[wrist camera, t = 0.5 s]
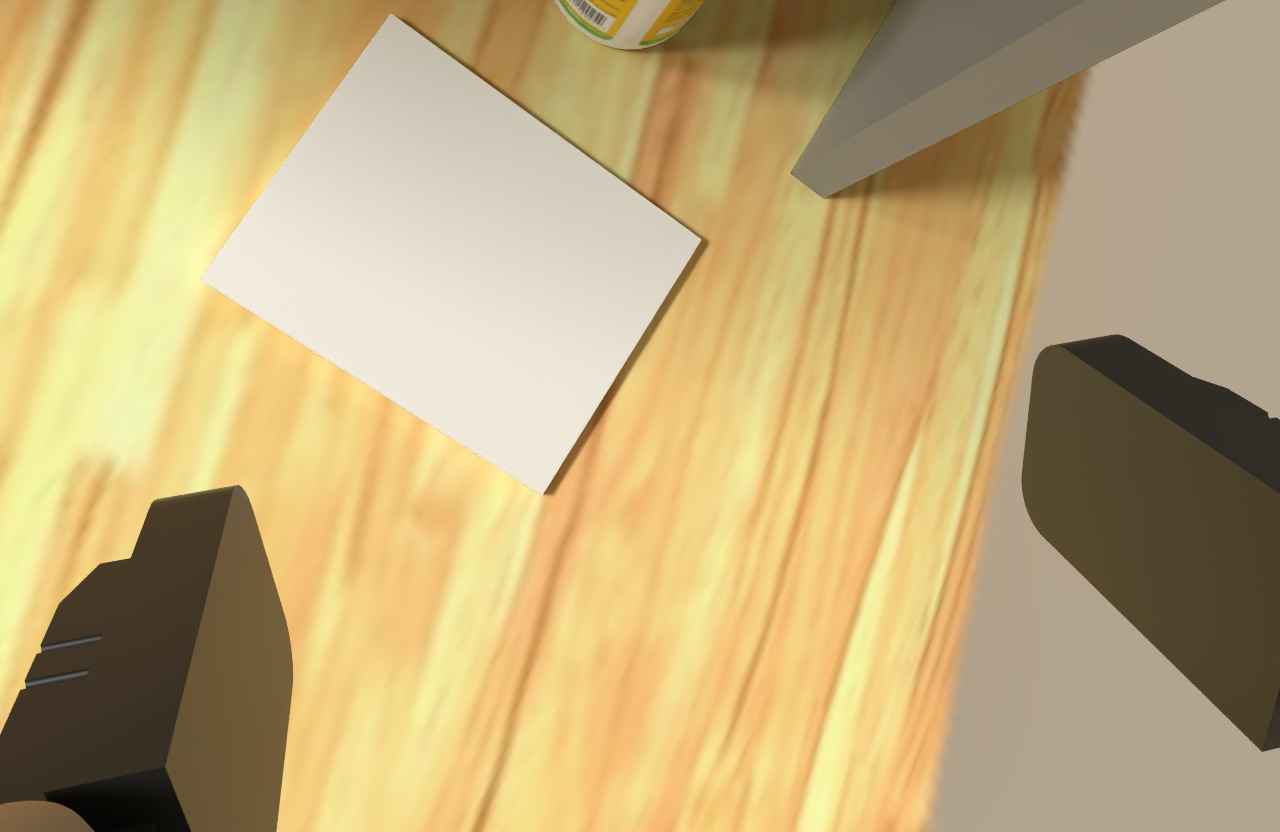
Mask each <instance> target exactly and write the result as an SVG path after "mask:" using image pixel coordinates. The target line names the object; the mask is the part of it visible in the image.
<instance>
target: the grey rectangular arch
mask: <svg viewBox="0 0 1280 832" xmlns="http://www.w3.org/2000/svg"><path fill="white" fill-rule="evenodd" d="M1223 1H1224V0H896V2H895V4H894V5H893V7H892V9H891V10H890V12H889V13H888V15H887V17H886V18H885V20H884V22H883V23H882V25H881V27H880V28H879V30H878V31H877V33H876V35H875V36H874V38H873V40H872V41H871V43H870V44H869V46H868V48H867V49H866V51H865V53H864V54H863V56H862V58H861V59H860V61H859V62H858V64H857V66H856V67H855V69H854V71H853V72H852V74H851V75H850V77H849V79H848V80H847V82H846V84H845V85H844V87H843V89H842V90H841V92H840V93H839V95H838V97H837V98H836V100H835V102H834V103H833V105H832V106H831V108H830V110H829V111H828V113H827V115H826V116H825V118H824V119H823V121H822V123H821V124H820V126H819V128H818V129H817V131H816V133H815V134H814V136H813V137H812V139H811V141H810V142H809V144H808V146H807V147H806V149H805V150H804V152H803V154H802V155H801V157H800V159H799V160H798V162H797V164H796V165H795V167H794V168H793V170H792V172H791V174H792V175H794V176H795V177H796V178H798V179H799V180H800V181H802V182H803V183H804V184H806V185H807V186H808V187H809V188H811V189H812V190H813V191H815V192H816V193H817V194H819V195H820V196H821V197H823V198H826V197H828V196H830V195H832V194H834V193H836V192H838V191H840V190H842V189H844V188H846V187H848V186H850V185H852V184H854V183H856V182H858V181H860V180H863V179H865V178H867V177H869V176H871V175H873V174H875V173H877V172H879V171H881V170H883V169H885V168H887V167H889V166H891V165H893V164H895V163H897V162H899V161H901V160H903V159H905V158H907V157H909V156H911V155H913V154H915V153H917V152H919V151H921V150H923V149H925V148H927V147H929V146H931V145H933V144H935V143H937V142H939V141H941V140H943V139H945V138H947V137H949V136H952V135H954V134H956V133H958V132H960V131H962V130H964V129H966V128H968V127H970V126H972V125H974V124H976V123H978V122H980V121H982V120H984V119H986V118H988V117H990V116H992V115H994V114H996V113H998V112H1000V111H1002V110H1004V109H1006V108H1008V107H1010V106H1012V105H1014V104H1016V103H1018V102H1020V101H1022V100H1024V99H1026V98H1028V97H1030V96H1032V95H1034V94H1036V93H1038V92H1040V91H1043V90H1045V89H1047V88H1049V87H1051V86H1053V85H1055V84H1057V83H1059V82H1061V81H1063V80H1065V79H1067V78H1069V77H1071V76H1073V75H1075V74H1077V73H1079V72H1081V71H1083V70H1085V69H1087V68H1089V67H1091V66H1093V65H1095V64H1097V63H1099V62H1101V61H1103V60H1105V59H1107V58H1109V57H1111V56H1113V55H1115V54H1117V53H1119V52H1121V51H1123V50H1125V49H1127V48H1129V47H1131V46H1134V45H1136V44H1138V43H1139V42H1142V41H1143V40H1146V39H1148V38H1150V37H1152V36H1154V35H1156V34H1158V33H1160V32H1162V31H1164V30H1166V29H1168V28H1170V27H1172V26H1174V25H1176V24H1178V23H1180V22H1182V21H1184V20H1186V19H1188V18H1190V17H1192V16H1194V15H1196V14H1198V13H1200V12H1202V11H1204V10H1206V9H1208V8H1210V7H1212V6H1214V5H1216V4H1218V3H1220V2H1223Z"/></svg>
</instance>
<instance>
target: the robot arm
mask: <svg viewBox="0 0 1280 832" xmlns="http://www.w3.org/2000/svg"><path fill="white" fill-rule="evenodd" d="M1022 491H1023V497H1024V502H1025V505H1026V508H1027V511H1028V514H1029V516H1030V518H1031V520H1032V522H1033V524H1034V526H1035V527H1036V529H1037V530H1038V531H1039V533H1040V534H1041V535H1042V536H1043V537H1044V538H1045V539H1046V540H1047V541H1048V542H1049V543H1050V544H1051V545H1052V546H1053V547H1054V548H1055V549H1056V550H1057V551H1058V552H1059V553H1060V554H1061V555H1062V556H1063V557H1064V558H1065V559H1066V560H1067V561H1068V562H1069V563H1070V564H1072V565H1073V566H1074V567H1075V568H1076V569H1077V570H1078V571H1079V572H1080V573H1081V574H1082V575H1083V576H1084V577H1085V578H1086V579H1087V580H1088V581H1089V582H1090V583H1091V584H1092V585H1093V586H1094V587H1095V588H1096V589H1097V590H1098V591H1099V592H1100V593H1101V594H1102V595H1103V596H1104V597H1105V598H1106V599H1107V600H1108V601H1109V602H1110V603H1111V604H1112V605H1113V606H1114V607H1115V608H1116V609H1117V610H1118V611H1119V612H1121V614H1122V615H1123V616H1125V617H1126V619H1128V620H1129V621H1130V622H1131V623H1132V624H1133V625H1134V626H1135V627H1136V628H1137V629H1138V630H1139V631H1140V632H1141V633H1142V634H1143V635H1144V636H1145V637H1146V638H1147V639H1148V640H1149V641H1150V642H1151V643H1152V644H1153V645H1154V646H1155V647H1156V648H1157V649H1158V650H1159V651H1160V652H1161V653H1162V654H1163V655H1164V656H1165V657H1166V658H1167V659H1168V660H1169V661H1170V662H1171V663H1172V664H1173V665H1175V667H1176V668H1177V669H1178V670H1180V672H1181V673H1183V674H1184V675H1185V676H1186V677H1187V678H1188V679H1189V680H1190V681H1191V682H1192V683H1193V684H1194V685H1195V686H1196V687H1197V688H1198V689H1199V690H1200V691H1201V692H1202V693H1203V694H1204V695H1205V696H1206V697H1207V698H1208V699H1209V700H1210V701H1211V702H1212V703H1213V704H1214V705H1215V706H1216V707H1217V708H1218V709H1219V710H1220V711H1221V712H1222V713H1223V714H1224V715H1225V716H1226V717H1227V718H1228V719H1229V720H1230V721H1231V722H1232V723H1233V724H1234V725H1235V726H1237V728H1239V729H1240V730H1241V731H1242V732H1243V733H1244V734H1245V735H1246V736H1247V737H1248V738H1249V739H1250V740H1251V741H1252V742H1253V743H1254V744H1255V745H1256V746H1257V747H1258V748H1259V749H1260V750H1261V751H1262V752H1263V751H1267V750H1271V749H1275V748H1279V747H1280V420H1279V419H1278V418H1271V419H1269V417H1268V412H1266V411H1264V410H1263V409H1261V408H1259V407H1258V406H1256V405H1254V404H1253V403H1251V402H1249V401H1248V400H1246V399H1244V398H1243V397H1241V396H1239V395H1238V394H1236V393H1234V392H1232V391H1230V390H1229V389H1227V388H1224V387H1221V386H1218V385H1216V384H1212V383H1210V382H1207V381H1204V380H1201V379H1198V378H1195V377H1192V376H1190V375H1189V374H1187V373H1185V372H1183V371H1182V370H1180V369H1179V368H1177V367H1175V366H1174V365H1172V364H1170V363H1169V362H1167V361H1165V360H1163V359H1162V358H1160V357H1159V356H1157V355H1155V354H1154V353H1152V352H1150V351H1149V350H1147V349H1146V348H1144V347H1142V346H1140V345H1139V344H1137V343H1136V342H1133V341H1132V340H1131V339H1129V338H1127V337H1125V336H1122V335H1109V336H1103V337H1097V338H1092V339H1086V340H1081V341H1074V342H1069V343H1063V344H1058V345H1051V346H1049V347H1046V348H1045V349H1043V350H1042V351H1041V353H1040V354H1039V355H1038V357H1037V359H1036V362H1035V365H1034V370H1033V376H1032V385H1031V395H1030V404H1029V414H1028V422H1027V432H1026V441H1025V450H1024V460H1023V469H1022ZM41 649H42V652H41V653H38V654H36V657H35V659H34V661H33V663H32V665H31V668H30V670H29V672H28V674H27V677H26V679H25V684H26V689H23V690H20V692H19V694H18V697H17V699H16V701H15V703H14V705H13V708H12V710H11V712H10V714H9V717H8V719H7V721H6V723H5V725H4V728H3V730H2V732H1V734H0V832H276V830H277V821H278V812H279V803H280V794H281V785H282V776H283V768H284V759H285V750H286V741H287V732H288V723H289V714H290V705H291V696H292V686H293V662H292V651H291V644H290V637H289V632H288V627H287V623H286V619H285V615H284V612H283V609H282V605H281V602H280V599H279V595H278V592H277V589H276V585H275V582H274V579H273V575H272V572H271V569H270V565H269V562H268V559H267V555H266V552H265V549H264V545H263V542H262V539H261V535H260V532H259V529H258V525H257V522H256V519H255V515H254V512H253V509H252V506H251V503H250V501H249V498H248V496H247V494H246V492H245V491H244V489H243V488H242V487H241V486H239V485H236V486H230V487H225V488H219V489H213V490H207V491H202V492H196V493H190V494H184V495H179V496H173V497H167V498H161V499H157V500H154V501H153V502H152V504H151V506H150V508H149V511H148V513H147V516H146V519H145V521H144V524H143V527H142V529H141V532H140V535H139V537H138V540H137V543H136V546H135V548H134V551H133V554H132V556H131V558H129V559H124V560H118V561H113V562H107V563H102V564H99V565H98V566H97V567H96V568H95V569H94V570H93V571H92V572H91V573H90V574H89V575H88V576H87V577H86V578H85V579H84V580H83V581H82V582H81V583H80V584H79V585H78V586H77V587H76V588H75V589H74V590H73V591H72V592H71V593H70V594H69V595H68V596H67V597H66V598H65V599H63V600H62V601H61V602H60V603H59V605H58V608H57V610H56V612H55V614H54V616H53V619H52V621H51V623H50V625H49V628H48V630H47V632H46V634H45V637H44V639H43V641H42V643H41Z"/></svg>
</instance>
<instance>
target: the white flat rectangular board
mask: <svg viewBox="0 0 1280 832" xmlns="http://www.w3.org/2000/svg"><path fill="white" fill-rule="evenodd" d="M701 240H702V239H700V238H699V237H698V236H696V235H695V234H694V233H692V232H691V231H689V230H688V229H687V228H685V227H684V226H683V225H681V224H680V223H678V222H677V221H676V220H674V219H673V218H672V217H670V216H669V215H667V214H666V213H665V212H663V211H662V210H661V209H659V208H658V207H656V206H655V205H654V204H652V203H651V202H650V201H648V200H647V199H645V198H644V197H643V196H641V195H640V194H639V193H637V192H636V191H634V190H633V189H632V188H630V187H629V186H628V185H626V184H625V183H623V182H622V181H621V180H619V179H618V178H617V177H615V176H614V175H612V174H611V173H610V172H608V171H607V170H606V169H604V168H603V167H602V166H600V165H599V164H597V163H596V162H595V161H593V160H592V159H591V158H589V157H588V156H586V155H585V154H584V153H582V152H581V151H580V150H578V149H577V148H575V147H574V146H573V145H571V144H570V143H569V142H567V141H566V140H564V139H563V138H562V137H560V136H559V135H558V134H556V133H555V132H553V131H552V130H551V129H549V128H548V127H547V126H545V125H544V124H542V123H541V122H540V121H538V120H537V119H536V118H534V117H533V116H531V115H530V114H529V113H527V112H526V111H525V110H523V109H522V108H520V107H519V106H518V105H516V104H515V103H514V102H512V101H511V100H509V99H508V98H507V97H505V96H504V95H503V94H501V93H500V92H498V91H497V90H496V89H494V88H493V87H492V86H490V85H489V84H488V83H486V82H485V81H483V80H482V79H481V78H479V77H478V76H477V75H475V74H474V73H472V72H471V71H470V70H468V69H467V68H466V67H464V66H463V65H461V64H460V63H459V62H457V61H456V60H455V59H453V58H452V57H450V56H449V55H448V54H446V53H445V52H444V51H442V50H441V49H439V48H438V47H437V46H435V45H434V44H433V43H431V42H430V41H428V40H427V39H426V38H424V37H423V36H422V35H420V34H419V33H417V32H416V31H415V30H413V29H412V28H411V27H409V26H408V25H406V24H405V23H404V22H402V21H401V20H400V19H398V18H397V17H395V16H394V15H393V14H390V15H389V16H388V18H387V19H386V21H385V22H384V23H383V25H382V26H381V28H380V29H379V30H378V32H377V33H376V35H375V36H374V37H373V39H372V40H371V41H370V43H369V44H368V46H367V47H366V48H365V50H364V51H363V53H362V54H361V55H360V57H359V58H358V60H357V61H356V62H355V64H354V65H353V67H352V68H351V69H350V71H349V72H348V74H347V75H346V76H345V78H344V79H343V80H342V82H341V83H340V85H339V86H338V87H337V89H336V90H335V92H334V93H333V94H332V96H331V97H330V99H329V100H328V101H327V103H326V104H325V106H324V107H323V108H322V110H321V111H320V113H319V114H318V115H317V117H316V118H315V119H314V121H313V122H312V124H311V125H310V126H309V128H308V129H307V131H306V132H305V133H304V135H303V136H302V138H301V139H300V140H299V142H298V143H297V145H296V146H295V147H294V149H293V150H292V152H291V153H290V154H289V156H288V157H287V159H286V160H285V161H284V163H283V164H282V165H281V167H280V168H279V170H278V171H277V172H276V174H275V175H274V177H273V178H272V179H271V181H270V182H269V184H268V185H267V186H266V188H265V189H264V191H263V192H262V193H261V195H260V196H259V198H258V199H257V200H256V202H255V203H254V204H253V206H252V207H251V209H250V210H249V211H248V213H247V214H246V216H245V217H244V218H243V220H242V221H241V223H240V224H239V225H238V227H237V228H236V230H235V231H234V232H233V234H232V235H231V237H230V238H229V239H228V241H227V242H226V243H225V245H224V246H223V248H222V249H221V250H220V252H219V253H218V255H217V256H216V257H215V259H214V260H213V262H212V263H211V264H210V266H209V267H208V269H207V270H206V271H205V273H204V274H203V276H202V277H201V278H200V280H201V281H202V282H204V283H206V284H207V285H209V286H210V287H212V288H213V289H215V290H217V291H218V292H220V293H221V294H223V295H225V296H226V297H228V298H229V299H231V300H232V301H234V302H236V303H237V304H239V305H240V306H242V307H244V308H245V309H247V310H248V311H250V312H251V313H253V314H255V315H256V316H258V317H259V318H261V319H263V320H264V321H266V322H267V323H269V324H270V325H272V326H274V327H275V328H277V329H278V330H280V331H282V332H283V333H285V334H286V335H288V336H289V337H291V338H293V339H294V340H296V341H297V342H299V343H301V344H302V345H304V346H305V347H307V348H308V349H310V350H312V351H313V352H315V353H316V354H318V355H320V356H321V357H323V358H324V359H326V360H327V361H329V362H331V363H332V364H334V365H335V366H337V367H339V368H340V369H342V370H343V371H345V372H346V373H348V374H350V375H351V376H353V377H354V378H356V379H358V380H359V381H361V382H362V383H364V384H365V385H367V386H369V387H370V388H372V389H373V390H375V391H377V392H378V393H380V394H381V395H383V396H384V397H386V398H388V399H389V400H391V401H392V402H394V403H395V404H397V405H399V406H400V407H402V408H403V409H405V410H407V411H408V412H410V413H411V414H413V415H414V416H416V417H418V418H419V419H421V420H422V421H424V422H426V423H427V424H429V425H430V426H432V427H433V428H435V429H437V430H438V431H440V432H441V433H443V434H445V435H446V436H448V437H449V438H451V439H452V440H454V441H456V442H457V443H459V444H460V445H462V446H464V447H465V448H467V449H468V450H470V451H471V452H473V453H475V454H476V455H478V456H479V457H481V458H483V459H484V460H486V461H487V462H489V463H490V464H492V465H494V466H495V467H497V468H498V469H500V470H502V471H503V472H505V473H506V474H508V475H509V476H511V477H513V478H514V479H516V480H517V481H519V482H521V483H522V484H524V485H525V486H527V487H528V488H530V489H532V490H533V491H535V492H536V493H538V494H540V495H543V494H544V492H545V490H546V489H547V487H548V485H549V484H550V482H551V481H552V479H553V477H554V476H555V474H556V473H557V471H558V469H559V468H560V466H561V465H562V463H563V461H564V460H565V458H566V457H567V455H568V453H569V452H570V450H571V449H572V447H573V445H574V444H575V442H576V441H577V439H578V437H579V436H580V434H581V432H582V431H583V429H584V428H585V426H586V424H587V423H588V421H589V420H590V418H591V416H592V415H593V413H594V412H595V410H596V408H597V407H598V405H599V404H600V402H601V400H602V399H603V397H604V396H605V394H606V392H607V391H608V389H609V388H610V386H611V384H612V383H613V381H614V380H615V378H616V376H617V375H618V373H619V371H620V370H621V368H622V367H623V365H624V363H625V362H626V360H627V359H628V357H629V355H630V354H631V352H632V351H633V349H634V347H635V346H636V344H637V343H638V341H639V339H640V338H641V336H642V335H643V333H644V331H645V330H646V328H647V327H648V325H649V323H650V322H651V320H652V319H653V317H654V315H655V314H656V312H657V310H658V309H659V307H660V306H661V304H662V302H663V301H664V299H665V298H666V296H667V294H668V293H669V291H670V290H671V288H672V286H673V285H674V283H675V282H676V280H677V278H678V277H679V275H680V274H681V272H682V270H683V269H684V267H685V266H686V264H687V262H688V261H689V259H690V258H691V256H692V254H693V253H694V251H695V249H696V248H697V246H698V245H699V243H700V241H701Z"/></svg>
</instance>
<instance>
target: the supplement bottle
mask: <svg viewBox="0 0 1280 832" xmlns="http://www.w3.org/2000/svg"><path fill="white" fill-rule="evenodd" d="M554 1H555V2H556V4H557V6H558V8H559V9H560V11H561V12H562V13H563V15H564V16H565V17H566V19H567V20H568V21H569V22H570V23H571V24H572V25H573V26H574V27H575V28H576V29H578V30H579V31H580V32H582V33H583V34H584V35H586V36H587V37H589V38H590V39H592V40H594V41H596V42H598V43H600V44H603V45H606V46H609V47H613V48H619V49H642V48H647V47H651V46H654V45H657V44H659V43H661V42H663V41H665V40H667V39H669V38H670V37H672V36H673V35H675V34H676V33H677V32H678V31H679V30H680V29H681V28H682V27H683V26H684V25H685V24H686V23H687V22H688V21H689V20H690V19H691V17H692V16H693V15H694V14H695V13H696V11H697V10H698V9H699V8H700V6H701V5H702V4H703V2H704V1H705V0H554Z"/></svg>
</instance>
